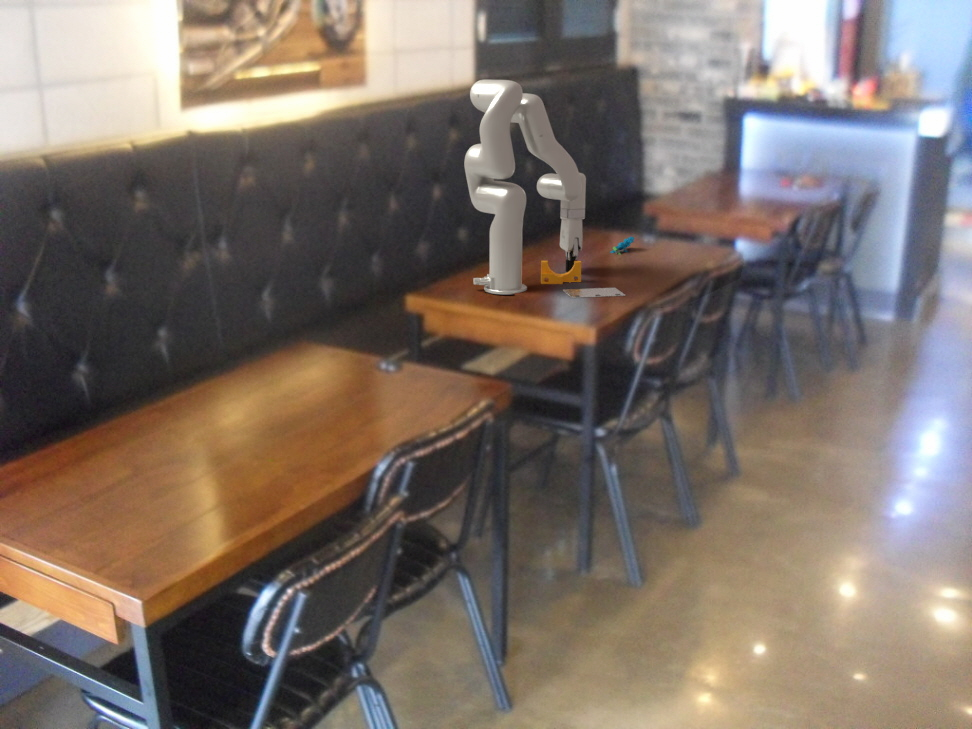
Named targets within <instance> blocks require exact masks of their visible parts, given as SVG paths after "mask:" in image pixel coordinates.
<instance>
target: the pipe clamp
mask: <svg viewBox="0 0 972 729" xmlns="http://www.w3.org/2000/svg"><path fill="white" fill-rule="evenodd" d="M540 261H541V262H540V284H541V285H563V282H569V283H571V282H582V261H581V260H577V261H574V266H573V267H572V269H571V270H570V271H569V272H565V273H557V272H555V271H553V270H552V268H550V266H549V262H548V260H540ZM575 277H577V278H575ZM571 284H572V283H571Z"/></svg>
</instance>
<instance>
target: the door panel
mask: <svg viewBox="0 0 972 729" xmlns="http://www.w3.org/2000/svg"><path fill="white" fill-rule="evenodd" d="M562 291H563V293H565V294H566V295H567V296H569V297H570V298H572V299H575V298H596V297H597V298H599V297H600V298H601V297H623V296H625V297H626V294H624V293H623V291H620V290H619V289H618V288H616V287H595V288H592V287H591V288H574V289H573V288H570V289H566V288H565V289H562Z"/></svg>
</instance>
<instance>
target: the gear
mask: <svg viewBox="0 0 972 729" xmlns="http://www.w3.org/2000/svg"><path fill="white" fill-rule="evenodd" d="M634 240H635V236H632V235H630V236H629V237H628V238H627V237H626V238H625V239H623V241H620V242H619V243H618V245H616V246H615V245H614V246H613V247H612V249H613V250H611V251H609V253H610V254H613V253H615V254H616V255H620V256H621V253H628V249H627V248H630V246H631V244H632V243H634Z"/></svg>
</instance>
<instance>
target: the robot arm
mask: <svg viewBox="0 0 972 729" xmlns="http://www.w3.org/2000/svg"><path fill="white" fill-rule="evenodd" d="M469 98H470V101H471V103H472V106H474V107H475V108H476V109H477V110H478V111H480V112H483V113H484V115H483V116H482V118H481V121H480V125H479V137H480V139H479V140H480V143H477V144H473V145H472V146H470V147H469V149H468V150H467V151H466V153H465V156H464V161H463V162H464V172H465V177H466V178H465V179H466V182H467V189H468V192H469V197H470V200H471V204H472V205H473V207H474V209H476V210H477V211H479V212H481V213H486V214H493V215H494V217H493V220H492V222H491V224H490V228H489V273H487V274H486V276H484V277H473V285H479V286H483V289H484V291H485V292H486V293H488V294H493V295H507V296H508V295H514V294H519V293H522V292H523V293H524V292H526V291H527V290H528V286H527V285H525V284H524V283H522V281H523V278H522V277H523V225H524V215H525V210H526V206H527V194H526V192H525V190H524V188H522V187H521V186H520V185H518V184H516V183H513V182H507V181H501V180H506V179H509V178H511V177H512V176H513V175H514V173H515V170H516V162H515V156H514V155H515V154H514V148H513V143H512V138H511V136H512V135H511V123H514V124H515V123H517V124H518V125H519V127H520V131H521V133H522V136H523V138H524V141H525V144H526V145H525V146H526V148H527V150H528V152H529V153H531V154H532V155H533V156H535V157H536V158H538V159H539V160H541V161H542V162H544V163H546V164H547V165H549V166H550V167H551V168H552V169H553V171H554V172H555V173H553V172H551V173H545V174H543V175H542V176H540V177H539V179H537V183H536V191H537V192H538V194H539V195H540V196H541V197H543V198H545V199H551V200H559V201H560V212H559V214H560V216H559V217H560V218H559V219H561V223H560V235H559V247H560V248H561V249H562V250H564V252H565V273H567V272H569V271H570V270H571V269H572V267H573V266H574V261H578V256H579V252H581V251H582V249H583V239H584V237H583V220H584V219H585V218H586V193H587V191H586V190H587V189H586V188H587V187H586V184H587V177H586V175H585V174H584V173H583V172H580V171H579V169H578V166H577V164H576V162H575V161H574V159H573V157H572V156H571V155H570V154H569V153H568V152H567V150H566V149H565V148H564V147H563V145H561V144H560V143H559V142H558V141H557V139H556V137H555V135H554V131H553V128H552V125H551V123H550V119H549V116H548V113H547V110H546V107H545V105H544V104H545V103H544V101H543V100H542V98H541V97H540V96H539V95H537V94H533V93H526V92H524V93H523V88H522V86H521V85H520V83H518V82H516V81H514V80H511V79H510V80H509V79H480V80H478V81H476V82H474V83H473V84H472V86H471V88H470V91H469ZM498 180H499V181H498Z"/></svg>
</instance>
